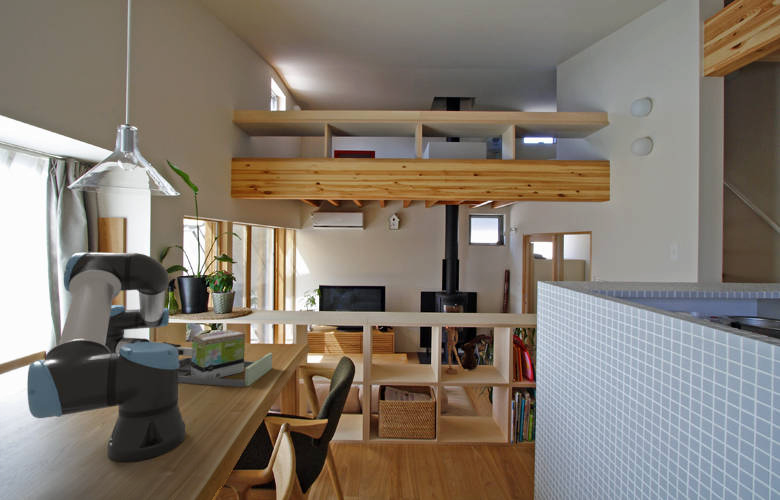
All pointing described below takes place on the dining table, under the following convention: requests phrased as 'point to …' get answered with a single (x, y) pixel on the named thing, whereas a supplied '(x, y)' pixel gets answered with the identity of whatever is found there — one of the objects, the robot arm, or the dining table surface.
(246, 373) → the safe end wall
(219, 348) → the tea box
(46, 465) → the dining table surface
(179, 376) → the channel
